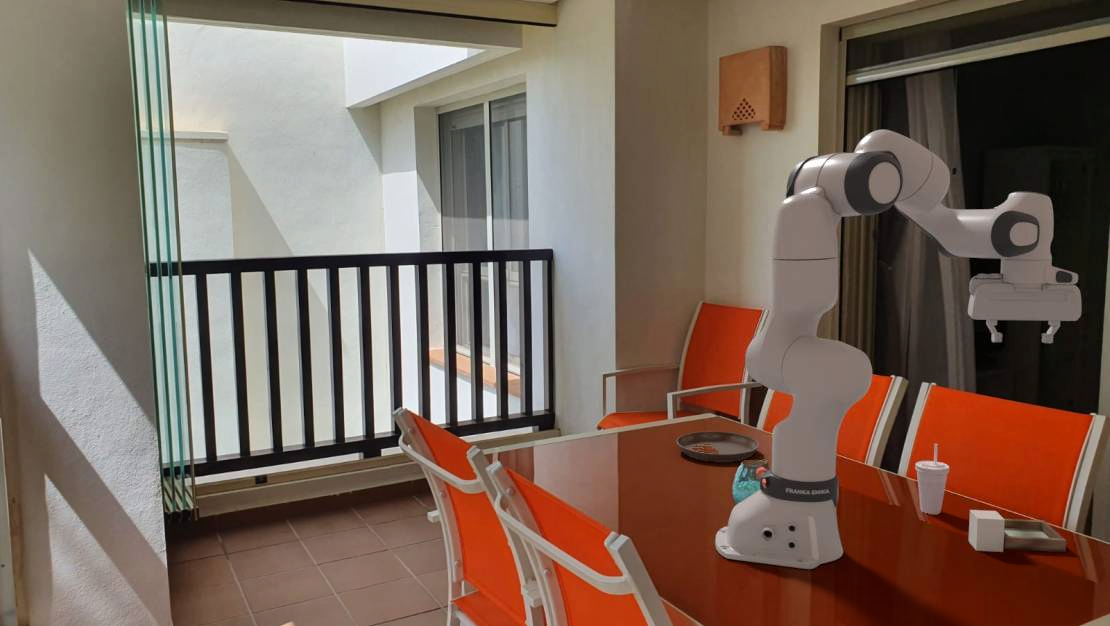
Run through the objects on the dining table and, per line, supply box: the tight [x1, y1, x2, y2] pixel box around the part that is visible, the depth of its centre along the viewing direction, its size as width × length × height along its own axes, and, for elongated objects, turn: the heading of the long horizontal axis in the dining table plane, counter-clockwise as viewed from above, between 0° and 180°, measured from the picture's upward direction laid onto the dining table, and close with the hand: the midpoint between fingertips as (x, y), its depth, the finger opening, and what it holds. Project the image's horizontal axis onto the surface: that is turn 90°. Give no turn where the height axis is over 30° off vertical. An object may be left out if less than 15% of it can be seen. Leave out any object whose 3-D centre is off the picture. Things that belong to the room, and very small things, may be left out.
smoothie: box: [914, 443, 950, 515], centre depth 173 cm, size 6×6×14 cm
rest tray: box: [1003, 518, 1067, 553], centre depth 157 cm, size 10×10×2 cm
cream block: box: [968, 509, 1006, 553], centre depth 155 cm, size 4×4×6 cm
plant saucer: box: [676, 430, 760, 463], centre depth 218 cm, size 21×21×3 cm
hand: (1021, 342), depth 172 cm, fingers open, 8 cm apart
